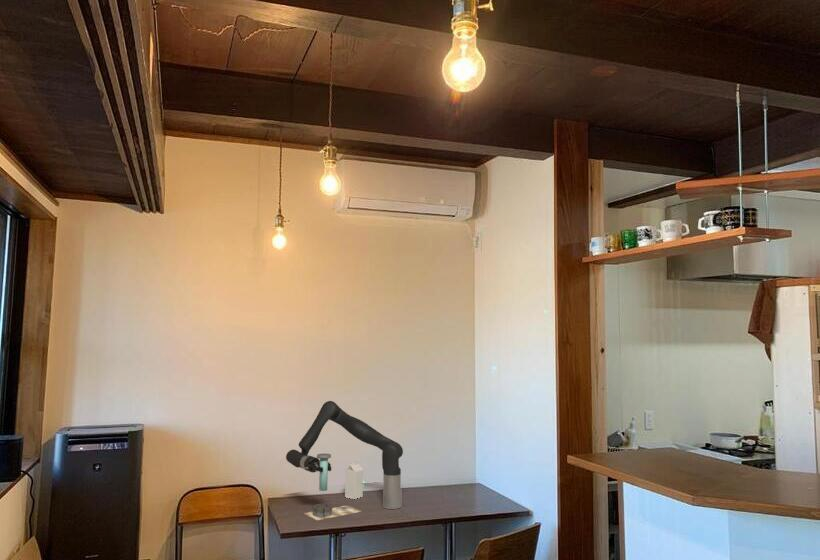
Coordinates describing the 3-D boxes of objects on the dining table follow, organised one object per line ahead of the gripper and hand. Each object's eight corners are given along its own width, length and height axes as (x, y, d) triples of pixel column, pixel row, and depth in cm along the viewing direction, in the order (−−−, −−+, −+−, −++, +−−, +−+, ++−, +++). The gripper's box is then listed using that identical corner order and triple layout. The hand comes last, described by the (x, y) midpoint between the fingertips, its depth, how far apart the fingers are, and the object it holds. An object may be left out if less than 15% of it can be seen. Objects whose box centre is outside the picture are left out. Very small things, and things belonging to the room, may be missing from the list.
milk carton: (362, 497, 341) (363, 462, 343) (354, 499, 335) (355, 464, 337) (352, 495, 345) (353, 461, 347) (344, 497, 339) (345, 463, 341)
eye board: (347, 508, 319) (347, 497, 319) (362, 514, 308) (362, 503, 308) (303, 516, 303) (303, 505, 304) (316, 523, 292) (317, 511, 293)
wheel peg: (325, 487, 308) (326, 453, 310) (332, 490, 302) (333, 455, 304) (313, 489, 304) (314, 454, 305) (320, 492, 298) (321, 456, 300)
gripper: (297, 457, 311) (314, 463, 298) (322, 454, 320) (339, 460, 306) (297, 472, 311) (313, 479, 297) (321, 469, 319) (338, 475, 306)
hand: (326, 469), depth 302 cm, fingers closed on wheel peg, 4 cm apart
